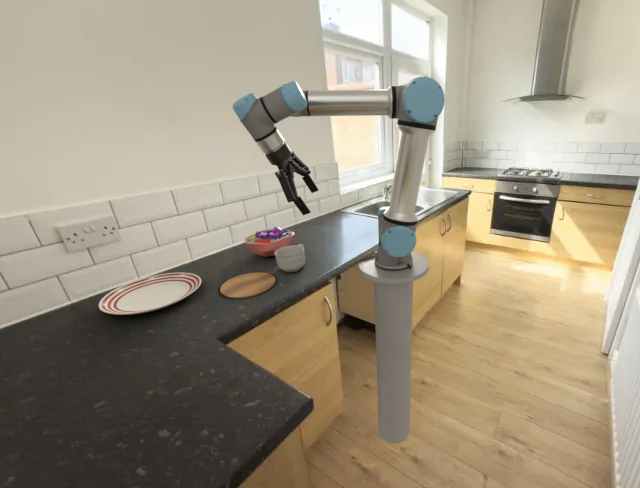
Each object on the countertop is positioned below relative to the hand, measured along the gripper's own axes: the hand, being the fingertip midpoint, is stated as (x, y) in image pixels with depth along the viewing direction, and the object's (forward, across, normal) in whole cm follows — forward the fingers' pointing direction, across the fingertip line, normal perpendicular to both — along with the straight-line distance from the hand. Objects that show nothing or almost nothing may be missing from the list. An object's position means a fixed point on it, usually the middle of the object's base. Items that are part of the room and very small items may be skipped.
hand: (311, 202), depth 111 cm
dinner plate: (-1, +30, -51) cm, 59 cm away
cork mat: (+11, +21, -28) cm, 36 cm away
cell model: (+19, -4, -33) cm, 38 cm away
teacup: (+20, +8, -18) cm, 28 cm away
